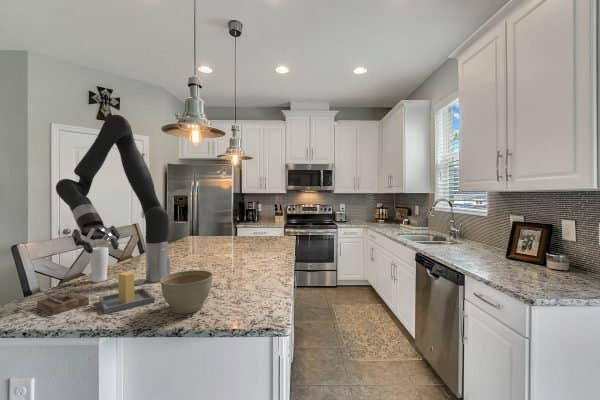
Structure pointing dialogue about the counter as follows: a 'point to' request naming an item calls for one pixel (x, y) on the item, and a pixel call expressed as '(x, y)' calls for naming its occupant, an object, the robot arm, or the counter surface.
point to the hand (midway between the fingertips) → (104, 250)
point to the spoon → (138, 282)
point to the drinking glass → (99, 264)
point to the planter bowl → (186, 290)
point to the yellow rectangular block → (126, 287)
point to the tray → (113, 305)
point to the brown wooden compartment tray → (62, 303)
